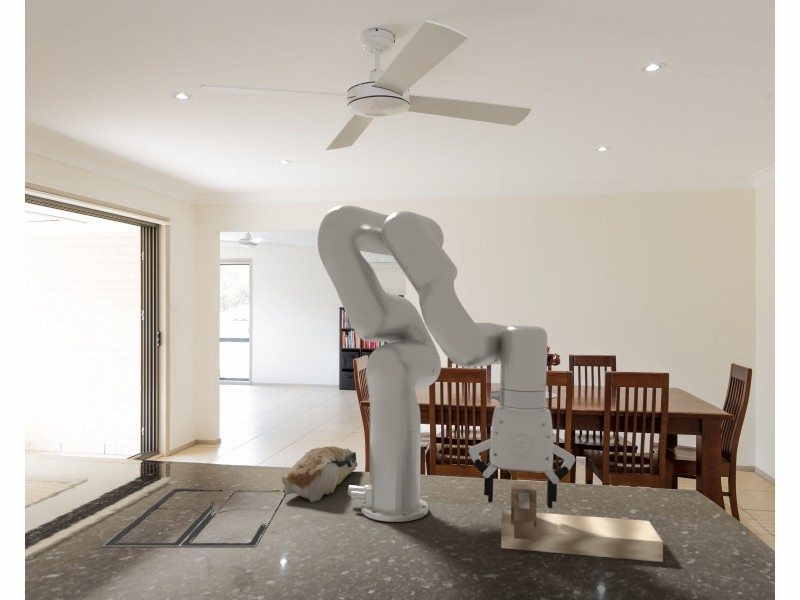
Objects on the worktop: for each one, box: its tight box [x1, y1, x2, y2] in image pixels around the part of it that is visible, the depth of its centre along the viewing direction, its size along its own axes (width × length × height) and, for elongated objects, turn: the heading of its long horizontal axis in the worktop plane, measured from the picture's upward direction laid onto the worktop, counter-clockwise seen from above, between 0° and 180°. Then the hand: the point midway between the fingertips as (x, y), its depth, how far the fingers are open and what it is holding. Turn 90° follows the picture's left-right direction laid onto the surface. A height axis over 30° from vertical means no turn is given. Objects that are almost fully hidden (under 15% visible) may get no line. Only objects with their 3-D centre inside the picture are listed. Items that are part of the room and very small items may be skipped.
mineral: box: [281, 445, 358, 503], centre depth 124 cm, size 26×9×10 cm
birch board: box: [500, 509, 664, 563], centre depth 93 cm, size 24×9×3 cm, turn 79°
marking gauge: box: [510, 482, 537, 540], centre depth 92 cm, size 4×9×6 cm, turn 169°
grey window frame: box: [101, 487, 269, 548], centre depth 105 cm, size 24×1×30 cm
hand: (519, 502), depth 95 cm, fingers open, 9 cm apart
